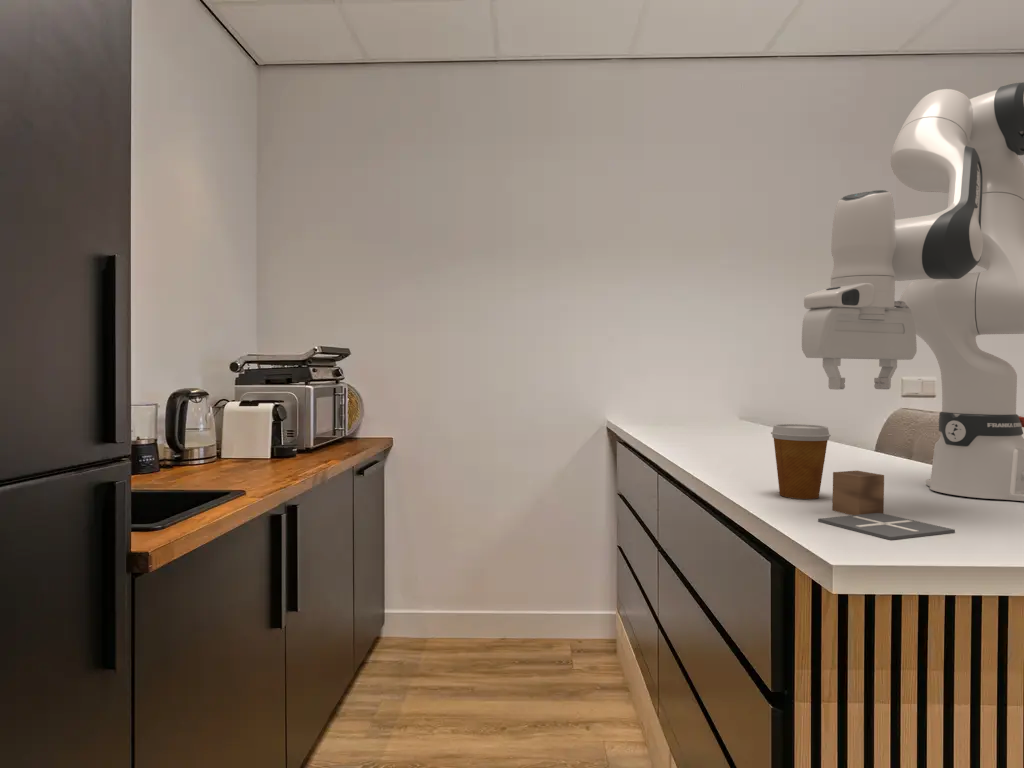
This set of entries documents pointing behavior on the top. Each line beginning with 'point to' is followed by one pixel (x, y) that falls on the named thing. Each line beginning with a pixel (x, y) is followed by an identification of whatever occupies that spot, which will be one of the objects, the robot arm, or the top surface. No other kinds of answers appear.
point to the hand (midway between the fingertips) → (859, 389)
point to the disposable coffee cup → (800, 459)
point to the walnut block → (858, 492)
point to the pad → (886, 526)
